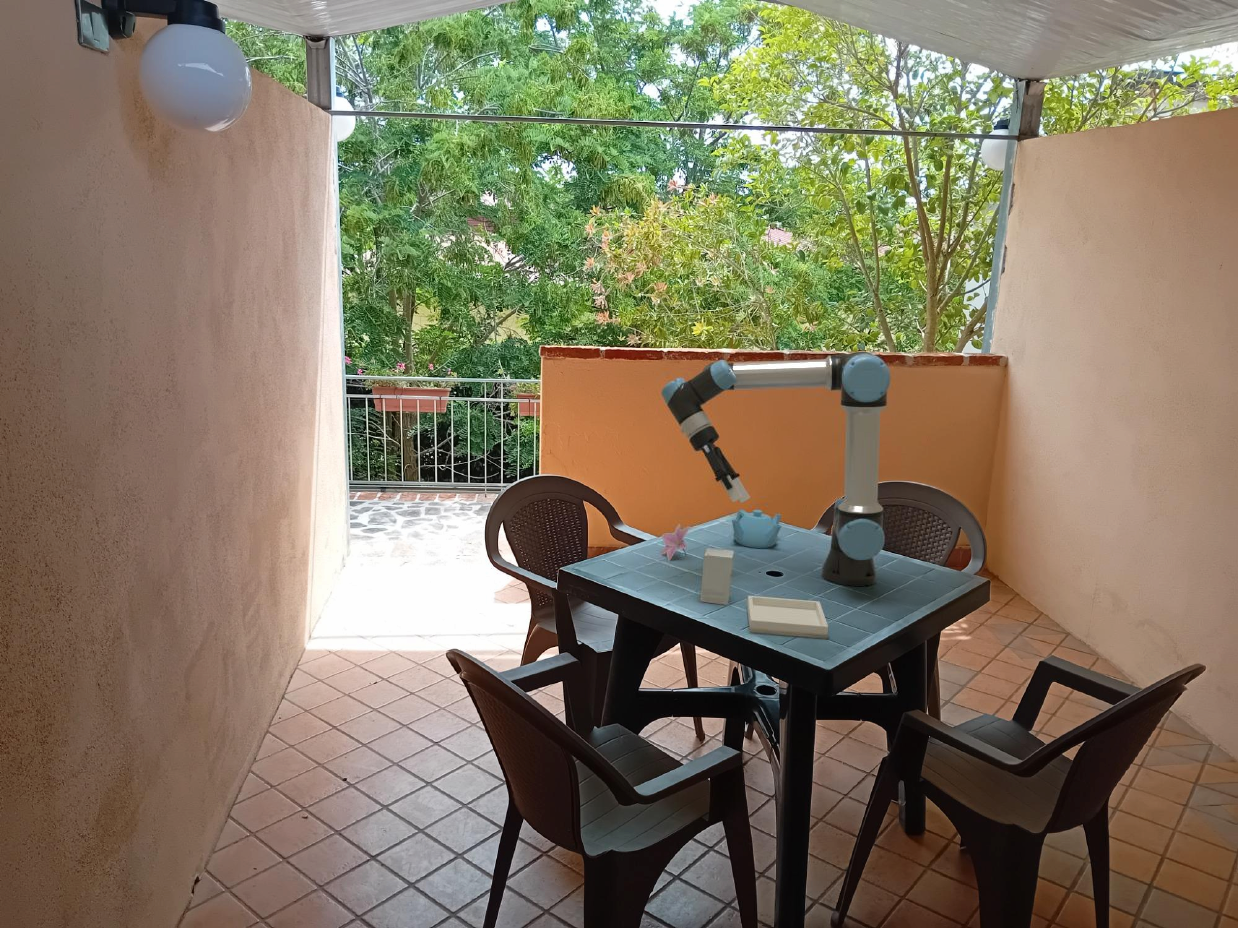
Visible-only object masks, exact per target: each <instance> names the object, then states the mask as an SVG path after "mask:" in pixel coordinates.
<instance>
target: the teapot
mask: <svg viewBox="0 0 1238 928" xmlns="http://www.w3.org/2000/svg"><path fill="white" fill-rule="evenodd" d="M752 511H753V512H747V511H745V510H744V509H739V510H738V511H737V514H736V518H735V519H732V520H731V523H732V524H731V525H732V530H733V538H734V540H735V542H736V543H737V544H738V543H739V544H738V545H741V546H743V547H746V546H747V547H746V548H752V549H768V548H771V547H773V546H775V544H777V542H778V540H779V539H778V537H779V536H778V534H779V532H780V531H781V528H782V525H780V522H781V521H780V520H781V517H782V515H781V514H779V513H777V514H774V516H773V517H771V516H770V515H768V514H765V513H763V511H762V510H760V509H754V510H752Z"/></svg>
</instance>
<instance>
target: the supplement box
mask: <svg viewBox="0 0 1238 928" xmlns="http://www.w3.org/2000/svg"><path fill="white" fill-rule="evenodd" d="M734 554H735V551H734V550H732V549H730V550H729V549H722V548H721V549H720V548H711V547H710V548H709V547H708V548H706V550H705V551H704V554H703V563H702V564H703V565H702V574H701V575H702V577H701V578H702V579H701V589H700V590H701V591H700V600H699V601H700V602H702V603H709V604H717V605H723V606H724V605H725V606H726V605H727V606H728V605H729V602H730V601H729V600H730V596H731V592H732V591H731V589H732V588H731V587H732V579H733V567H734V557H735V555H734Z"/></svg>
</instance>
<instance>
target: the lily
mask: <svg viewBox="0 0 1238 928" xmlns="http://www.w3.org/2000/svg"><path fill="white" fill-rule="evenodd" d="M691 528H692V526H689V525H688V526H686V527H684V528H682V529H681V524H680V523H678V525H677V526H676V528H675V530H674V532H666V533H663V534H662V535H661V539H662V541H663V543H664V545H665V546H664V547H663V549H662V550H661V552H660V556H662V555H664V554H666V558H667V561H668V562H670V561H671V560H672V558H673V556H674V554H675V553H676V551H677V550H683V552H684V554H685V556H686V555H687V552H686V550H685V549H687V547H688V546H687V544H686V542H685V541H684V538H685V537H686V535H687V533H688V532H689V530H690V529H691Z"/></svg>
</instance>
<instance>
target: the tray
mask: <svg viewBox="0 0 1238 928" xmlns="http://www.w3.org/2000/svg"><path fill="white" fill-rule="evenodd" d="M746 603H747V604H746V610H747V611H746V612H747V620H748V629H749V633H753V634H755V633H756V634H763V635H764V634H765V635H777V636H787V637H788V636H789V637H800V638H810V639H811V638H812V639H813V638H814V639H823V640H824V639H825V640H827V639H828V632H829V626H828V622H827V620H826V616H825V614H824V611H823V607H822V605H821V602H820V601H816V600H804V599H792V598H781V597H779V598H778V597H769V596H758V595H757V596H756V595H747V601H746Z"/></svg>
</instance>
